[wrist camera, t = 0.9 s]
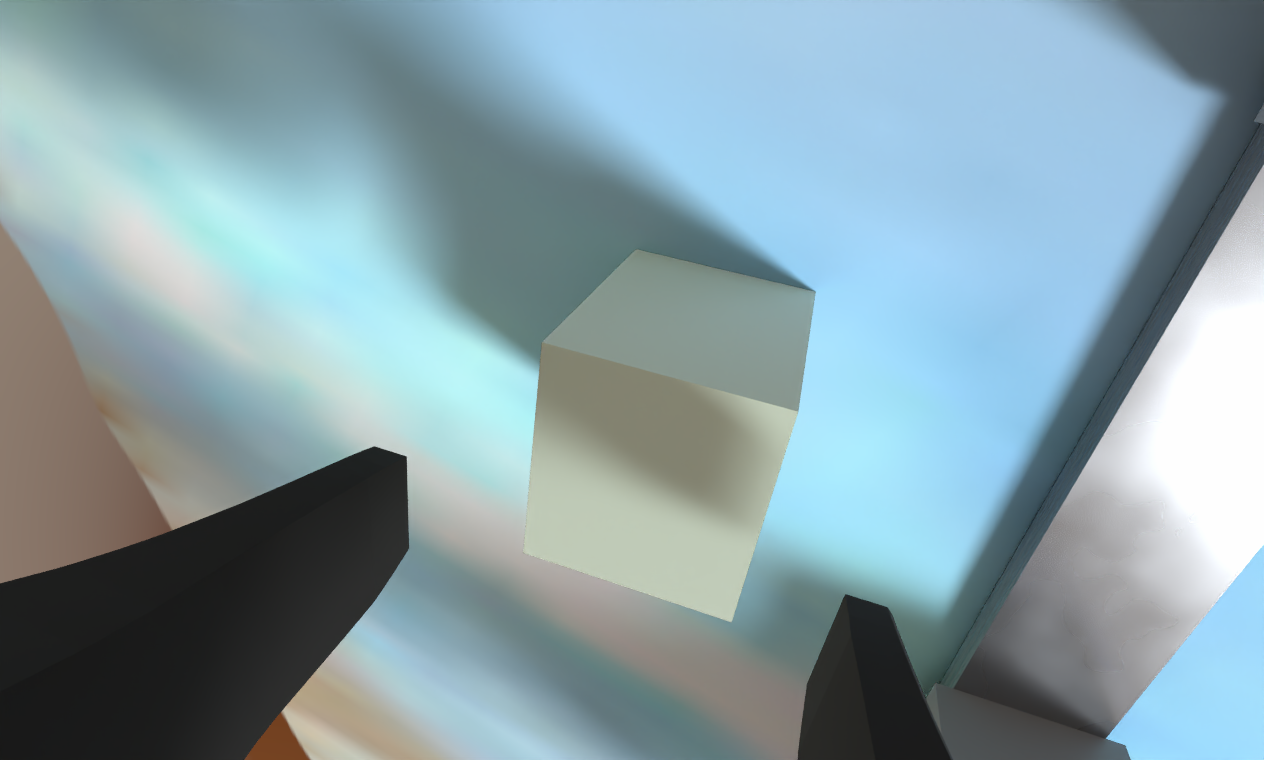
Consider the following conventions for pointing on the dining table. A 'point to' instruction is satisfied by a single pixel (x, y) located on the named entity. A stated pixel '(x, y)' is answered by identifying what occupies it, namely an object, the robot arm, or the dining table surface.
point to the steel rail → (1143, 496)
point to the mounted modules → (1013, 724)
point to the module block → (666, 428)
